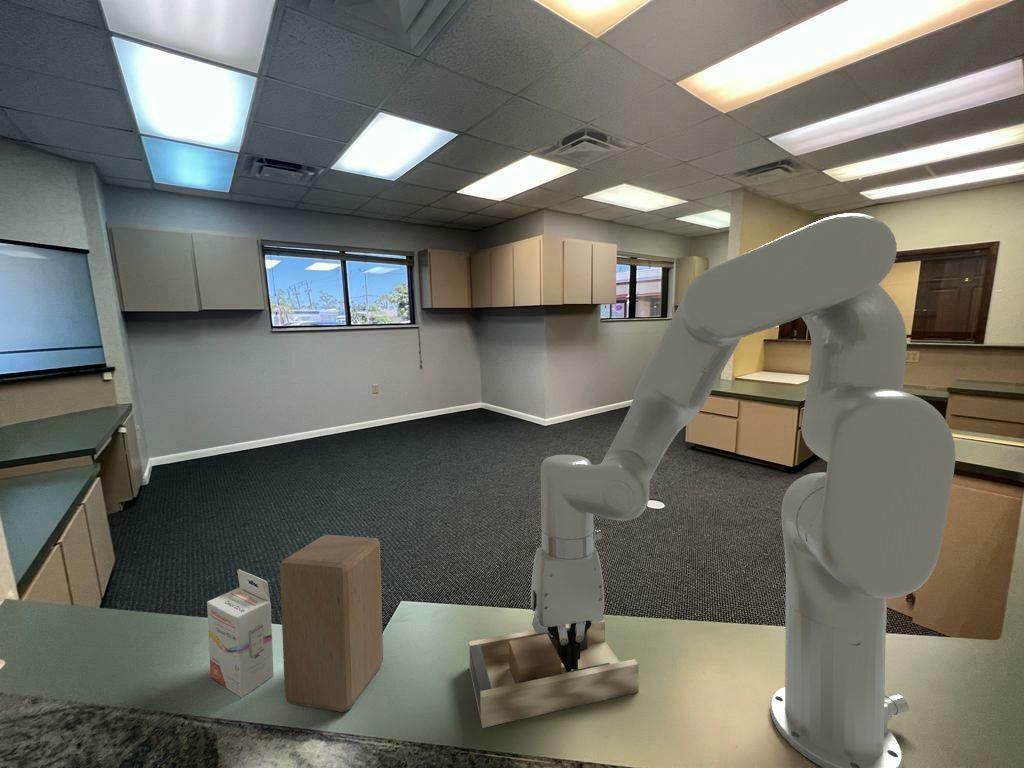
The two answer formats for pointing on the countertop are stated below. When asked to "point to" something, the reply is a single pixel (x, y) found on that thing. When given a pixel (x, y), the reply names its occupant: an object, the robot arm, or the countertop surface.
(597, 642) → the chute
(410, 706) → the countertop surface
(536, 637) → the block
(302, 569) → the block
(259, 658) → the ink cartridge box
